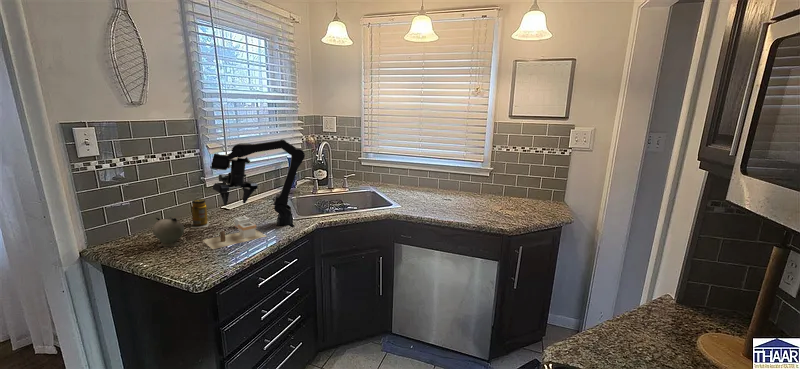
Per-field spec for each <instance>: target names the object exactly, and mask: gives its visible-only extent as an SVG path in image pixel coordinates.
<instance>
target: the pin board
mask: <svg viewBox="0 0 800 369" xmlns="http://www.w3.org/2000/svg"><path fill="white" fill-rule="evenodd" d="M255 231H256V236H253V237H248V238H243V237H241V236H240V235H239V232H235V233H229V234H226V231H223V230H221V231H220V232H219V236H216V237H210V238H206V239H202V240H201V241H202V242H203V243H205V245H207V246H208V247H209V248H210V249H212V250H215V249H221V248H224V247H228V246H232V245H235V244H241V243H245V242H249V241H254V240H258V239H262V238H266V237H267V235H266V234H264V233H262V232H261V231H260V230H258V229H257V228H255Z"/></svg>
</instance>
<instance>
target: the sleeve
mask: <svg viewBox="0 0 800 369" xmlns="http://www.w3.org/2000/svg"><path fill="white" fill-rule="evenodd" d="M248 222H251V220H250V218H249V217H247V216H238V217H234V227H235V228H236V229H238V230H239V228H238V224H243V223H248Z"/></svg>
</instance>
